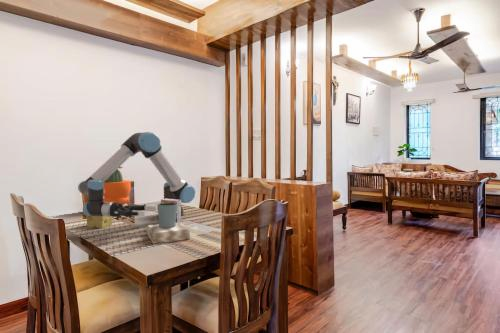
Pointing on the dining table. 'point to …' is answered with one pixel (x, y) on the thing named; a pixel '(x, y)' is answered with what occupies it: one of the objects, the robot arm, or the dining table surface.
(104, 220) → the cheese
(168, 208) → the grey green cup
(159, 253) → the dining table surface
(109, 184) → the potted cactus
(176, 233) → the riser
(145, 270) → the dining table surface
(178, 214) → the candy bar box
